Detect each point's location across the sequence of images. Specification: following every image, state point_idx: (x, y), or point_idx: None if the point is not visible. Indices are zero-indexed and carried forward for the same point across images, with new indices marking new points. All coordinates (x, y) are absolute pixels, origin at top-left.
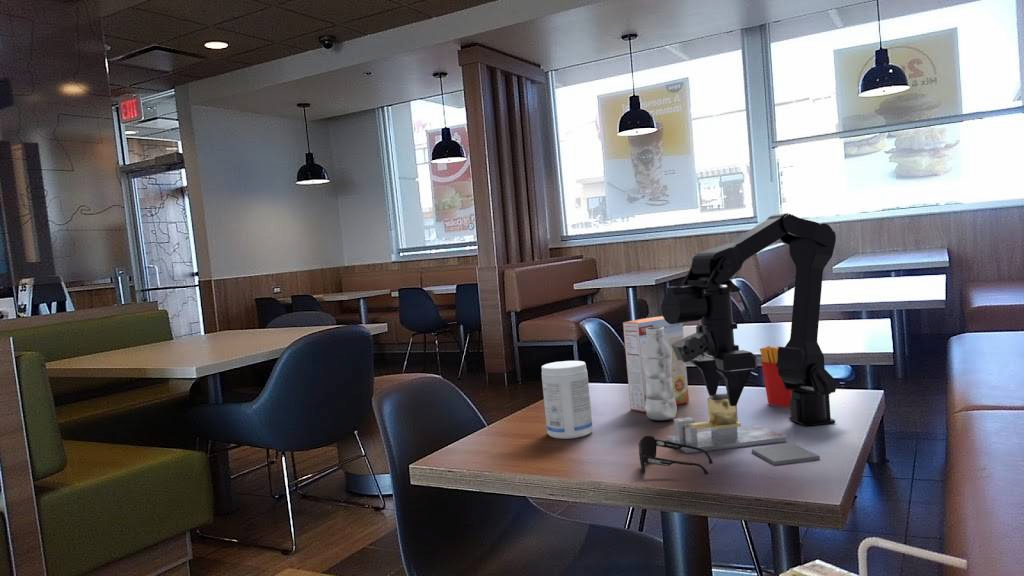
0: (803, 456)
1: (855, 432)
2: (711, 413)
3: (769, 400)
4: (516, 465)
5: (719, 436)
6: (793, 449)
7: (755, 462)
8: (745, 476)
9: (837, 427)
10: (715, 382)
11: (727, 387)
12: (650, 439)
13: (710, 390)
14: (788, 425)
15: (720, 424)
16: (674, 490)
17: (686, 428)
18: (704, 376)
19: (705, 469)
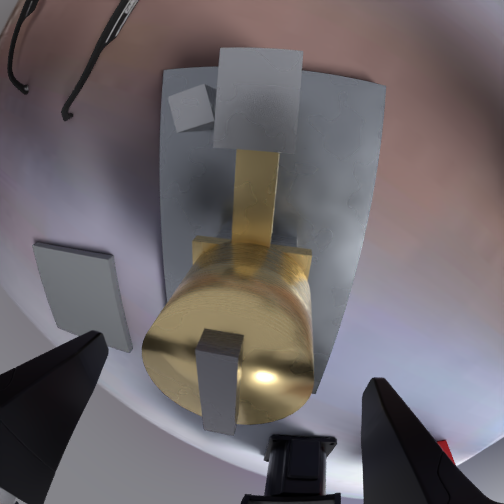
0: (54, 307)
1: (200, 443)
2: (218, 264)
3: (441, 446)
4: None
5: (218, 235)
6: (93, 325)
7: (53, 219)
8: (4, 160)
9: (241, 448)
10: (370, 467)
11: (12, 376)
12: None
13: (377, 409)
14: (304, 425)
15: (195, 261)
16: (4, 29)
17: (197, 86)
18: (418, 481)
19: (17, 88)
